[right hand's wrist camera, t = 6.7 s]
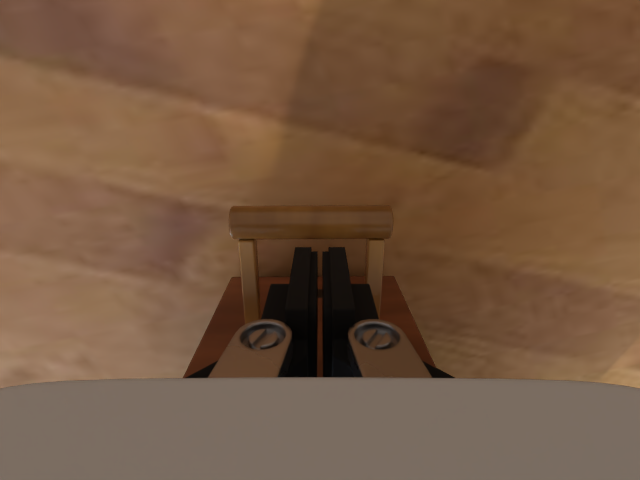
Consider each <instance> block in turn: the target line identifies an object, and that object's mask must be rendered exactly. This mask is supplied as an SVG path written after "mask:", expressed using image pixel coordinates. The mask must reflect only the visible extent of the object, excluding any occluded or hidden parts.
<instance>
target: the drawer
mask: <svg viewBox="0 0 640 480" xmlns="http://www.w3.org/2000/svg"><path fill="white" fill-rule="evenodd" d="M229 231H230V235H231V237H232V239H239V241H238V247H239V259H240V270H241V277H232V278H231V280H230V282H229V284H228V286H227V288H226V290H225V292H224V294H223V296H222V298H221V301H220V303H219V305H218V307H217V309H216V311H215V313H214V315H213V317H212V319H211V321H210V323H209V325H208V327H207V329H206V331H205V334H204V336H203V338H202V340H201V342H200V344H199V346H198V348H197V350H196V352H195V354H194V356H193V358H192V360H191V362H190V364H189V366H188V369H187V371H186V373H185V375H184V377H183V378H186V377H188V376H190V375H191V374H193V373H195V372H197V371H199V370H201V369H203V368H205V367H207V366H208V365H210V364H212V363H214V362H216V361H218V360H219V359H220V357H221V355H222V354H223V352H224V351H225V349H226V347H227V346H228V344H229V343H230V341H231V339H232V338H233V336H234V334H235V333H236V332H237V331H238V329H239V328H240V327H242V326H244V325H245V324H247V323H250V322H252V321H256V320H261V317H262V314H263V310H264V306H265V303H266V299H267V295H268V292H269V288H270V285H271V284H289V281H290V277H259V271H258V256H257V241H256V239H367V240H366V261H365V276H350V281H351V284H369V285H370V288H371V292H372V295H373V299H374V303H375V306H376V310H377V314H378V317H379V320H384V321H388V322H390V323H393V324H395V325H396V326H398V327H400V328H401V329H402V331H403V332H404V333H405V334H406V336H407V338H408V339H409V341H410V343H411V344H412V346H413V347H414V349H415V351H416V352H417V354H418V355H419V357H420V359H421V360H422V361H424V362H426V363H428V364H430V365H432V366H433V367H435V368H436V366H435V364H434V362H433V360H432V358H431V356H430V353H429V351H428V349H427V347H426V345H425V343H424V340H423V338H422V336H421V334H420V332H419V330H418V327H417V325H416V323H415V321H414V319H413V317H412V314H411V312H410V310H409V308H408V306H407V304H406V302H405V299H404V297H403V295H402V293H401V291H400V289H399V286H398V284H397V282H396V280H395V278H394V276H382V275H383V260H384V245H385V241H384V239H388V238H390V237H391V235H392V231H393V213H392V209H391V207H390V206H389V205H365V206H233V207H231V209H230V213H229ZM317 377H323V343H322V277H318V343H317Z"/></svg>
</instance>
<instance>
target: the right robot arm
mask: <svg viewBox="0 0 640 480" xmlns="http://www.w3.org/2000/svg"><path fill="white" fill-rule="evenodd" d="M317 343H318V261H317V252H311V247H295V252H294V258H293V264H292V270H291V276H290V281H289V284H271V285H270V288H269V292H268V295H267V299H266V303H265V306H264V310H263V314H262V317H261V320H256V321H252V322H250V323H247V324H245V325H244V326H242V327H240V328H239V329H238V331H237V332H236V333H235V334H234V336H233V338H232V339H231V341H230V343H229V344H228V346H227V347H226V349H225V351H224V352H223V354H222V355H221V357H220V359H219V360H218V361H216V362H214V363H212V364H210V365H208V366H207V367H205V368H203V369H201V370H199V371H197V372H195V373H193V374H191V375H190V376H188V377H186V378H164V379H108V380H77V381H57V382H44V383H33V384H26V385H18V386H11V387H6V388H1V389H0V480H640V389H639V388H634V387H629V386H622V385H614V384H606V383H597V382H583V381H566V380H530V379H483V378H454V377H452V376H450V375H449V374H447V373H445V372H443V371H441V370H439V369H437V368H435V367H433V366H432V365H430V364H428V363H426V362H424V361H422V360H421V359H420V357H419V355H418V354H417V352H416V351H415V349H414V347H413V346H412V344H411V343H410V341H409V339H408V338H407V336H406V334H405V333H404V332H403V331H402V329H401V328H400V327H398V326H396V325H395V324H393V323H390V322H388V321H384V320H379V317H378V314H377V310H376V306H375V303H374V299H373V295H372V292H371V288H370V285H369V284H351V281H350V276H349V270H348V264H347V258H346V252H345V247H329V252H323V261H322V343H323V377H317Z"/></svg>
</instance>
